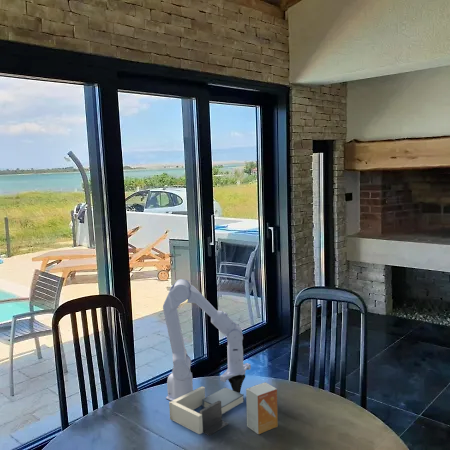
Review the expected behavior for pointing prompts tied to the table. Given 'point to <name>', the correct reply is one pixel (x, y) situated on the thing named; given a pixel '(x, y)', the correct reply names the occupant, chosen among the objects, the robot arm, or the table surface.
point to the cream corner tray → (188, 410)
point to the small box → (261, 407)
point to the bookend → (212, 418)
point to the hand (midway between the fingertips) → (236, 393)
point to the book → (224, 399)
